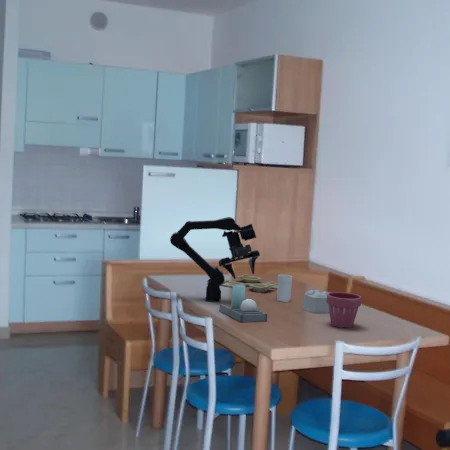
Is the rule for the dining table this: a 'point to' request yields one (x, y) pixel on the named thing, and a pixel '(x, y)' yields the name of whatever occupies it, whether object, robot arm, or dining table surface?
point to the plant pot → (343, 308)
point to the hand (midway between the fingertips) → (244, 276)
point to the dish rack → (244, 314)
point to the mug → (284, 288)
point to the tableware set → (253, 279)
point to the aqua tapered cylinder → (237, 296)
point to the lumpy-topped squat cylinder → (316, 302)
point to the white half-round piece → (248, 305)
